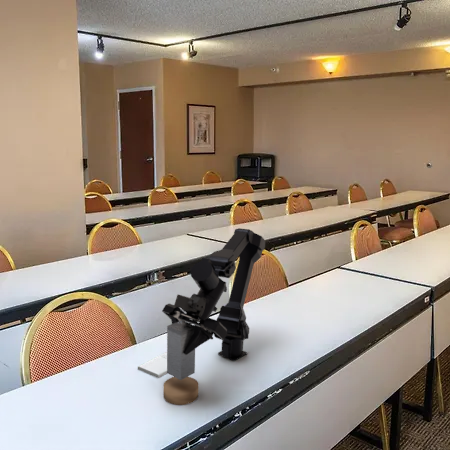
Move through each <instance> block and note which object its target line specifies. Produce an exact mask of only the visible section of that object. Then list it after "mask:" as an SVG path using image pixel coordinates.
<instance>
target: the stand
mask: <svg viewBox="0 0 450 450" xmlns="http://www.w3.org/2000/svg"><path fill="white" fill-rule="evenodd" d="M199 385H200V384H199V382H198V380H197V379H195V378H193V377H191V376H188V377H186V378H184V379H182V380H179V379H177V378H175V377H174V376H172V377H169V378H168V379H166V380H165V381H164V382H163V387H162V388H163V393H162V395H163V399H164V401H165V402H167V403H169V404H171V405H175V406H183V405H190V404H192V403H194V402H195V401H197V400H198V398H199V391H200V390H199Z"/></svg>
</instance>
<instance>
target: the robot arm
mask: <svg viewBox="0 0 450 450" xmlns="http://www.w3.org/2000/svg"><path fill="white" fill-rule="evenodd" d="M265 248H266V240H265V238H264V237H263V236H262V235H260V234H258V233H256V232H254V231H253V230H251V229H247V228H240V227H239V228H236V229H234V232H233V234H232V236H231V237H230V238H229V240H228V241H227V242H226V243H225V244H224V246H223V247H222V248H221V249H219V250H216V251H213V252H212V253H211V254H210V255H208V257H202V258H201V261H198V262H196V263H195V264H193V266H192V267H191V269H190V276H191V278H192V279H193V281H194V283H195V284H196V285H197V287H198V288H199V290H198V292H197V294H196V293H193V294H192V295H191V296H190V297H189V296H185V295H182V294H177V295H176V299H175V302H174V304H171V303H167V304H165V305H164V307H163V308H162V310H161V312H162V313H163V314H164V315H165V316H167V317H168V318H169V319H170V320H171V324H173V323H176V322H178V321H181V320H183V321H185V322H187V323H190V324H192V325H194V333H193V335H192V337H191V339H190V341H189V342H188V344H187V346H186V348H185V351H184V354H185V355H187V354H189V353H190V352H191V351H193V350H194V349H195V350H196V349H197V348H199V347H200V345H203V344H204V343H206V342H207V341H209V340H214V337H215V338H216V339H219V340H221V341H222V342H221V351H219V352H217V354H218V355H219V356H222V357H223V358H226V359H227V360H230V361H237V360H239V359H240V358H243V357H244V356H247V354H248V352H247V351H245V350H244V341H245V340H247V339H249V336H250V335H249V334H250V327H249V325H248V323H247V316H246V313H245V310H244V306H245V302H246V298H247V293H248V289H249V285H250V281H251V277H252V274H253V273H252V272H253V268H254V265H255V263H256V262H258V260H259V259H260V258H261V257H262V255H263V254H262V253H263V251H265ZM238 257H239V260H238ZM237 260H238V264H237V266H236V261H237ZM232 275H234V279H233V283H232V287H231V291H230V294H229V299H228V302H227V303H226V304H225V305H221V307H220V309H219V314H218V316H217V318H216V319H214V318H210V317H211V315H212V312H215V313H216V312H217V310H218V308H217V307H216V305H217V304H218V301H220V298H221V297H222V295H223V293H227V290H228V288H227V282H226V281H224V280H223V279H222V278H225V279H230V278H231V277H232Z"/></svg>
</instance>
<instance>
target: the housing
mask: <svg viewBox="0 0 450 450" xmlns="http://www.w3.org/2000/svg"><path fill="white" fill-rule="evenodd" d="M166 329H167V330H166V331H167V332H166V334H167V335H166V337H167V338H166V340H167V341H166V342H167V343H166V352H167V374H168V375H170V376H172V377H175V378H177V379H179V380H182V379H184V378H186V377H191V376H192V375H193V374H195V372H196V348H195V349H194V350H193V351H191V352H190V353H189V354H187V355H185V354H184V351H185V348H186V346H187V344H188V342H189V341H190V339H191V337H192V335H193V333H194V324H191V323H188V322H186V321H183V320H181V321H178V322H176V323H173V324H172V323H171V324H169V325H167V326H166Z"/></svg>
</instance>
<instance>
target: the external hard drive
mask: <svg viewBox="0 0 450 450" xmlns="http://www.w3.org/2000/svg"><path fill="white" fill-rule="evenodd" d="M137 370H138V371H141V372H143V373H146V374H148V375H150V376H152V377H154V378H157V379H160V378H162V377H164V376H165V375H167V374H168V373H167V351H166V352H164V353H161V354H159V355H157V356H156V357H154V358H152V359H150V360H148V361H146V362H144V363H142V364H140V365H138V366H137Z"/></svg>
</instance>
